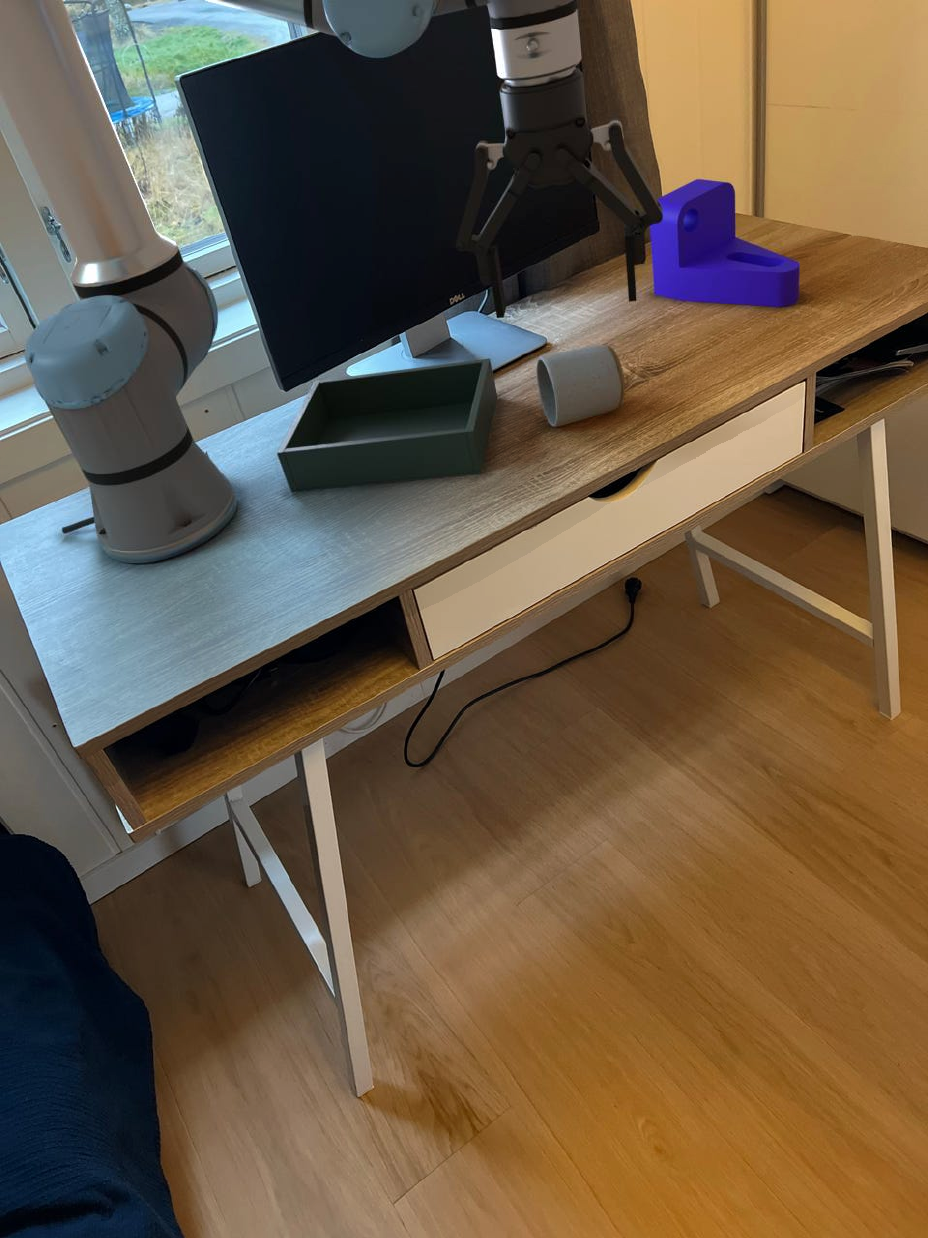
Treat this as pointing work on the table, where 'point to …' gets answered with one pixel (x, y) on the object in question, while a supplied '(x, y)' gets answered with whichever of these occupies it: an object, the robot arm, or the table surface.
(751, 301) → the bracket
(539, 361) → the ceramic mug
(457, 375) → the tote
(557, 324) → the table surface
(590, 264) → the table surface
